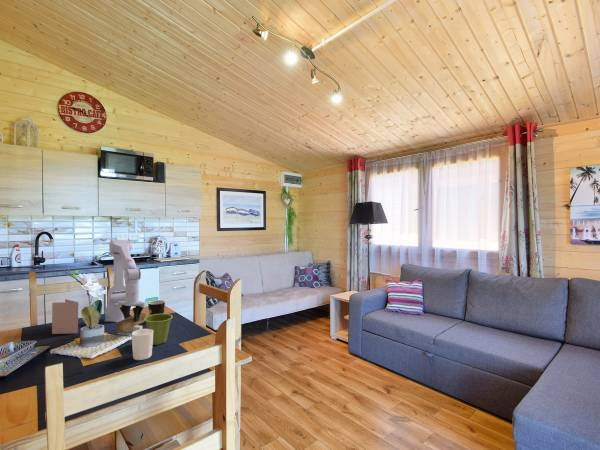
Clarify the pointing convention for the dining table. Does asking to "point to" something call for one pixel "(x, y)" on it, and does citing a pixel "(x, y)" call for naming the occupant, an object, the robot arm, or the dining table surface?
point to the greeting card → (65, 317)
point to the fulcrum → (130, 330)
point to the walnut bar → (130, 322)
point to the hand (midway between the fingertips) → (131, 320)
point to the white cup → (142, 344)
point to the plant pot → (159, 326)
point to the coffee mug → (156, 307)
